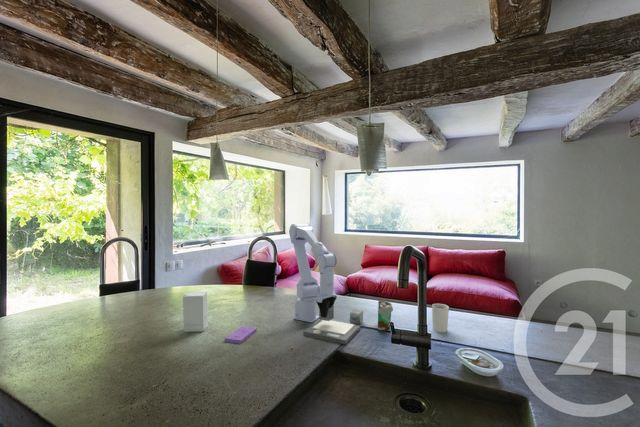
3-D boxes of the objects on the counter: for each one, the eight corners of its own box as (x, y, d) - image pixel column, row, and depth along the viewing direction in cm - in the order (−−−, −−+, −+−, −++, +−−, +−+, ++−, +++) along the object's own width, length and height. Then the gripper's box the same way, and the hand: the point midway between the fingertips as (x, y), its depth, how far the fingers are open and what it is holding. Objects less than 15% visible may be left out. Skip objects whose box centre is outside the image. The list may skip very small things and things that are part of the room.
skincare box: (208, 326, 130) (208, 291, 130) (203, 332, 124) (203, 295, 124) (188, 326, 129) (188, 291, 129) (182, 332, 123) (182, 295, 123)
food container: (393, 334, 124) (393, 309, 124) (377, 332, 125) (378, 308, 125) (392, 323, 136) (392, 300, 136) (378, 322, 138) (378, 299, 137)
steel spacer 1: (319, 319, 127) (319, 307, 127) (324, 316, 131) (324, 304, 131) (329, 321, 125) (329, 309, 125) (333, 317, 129) (333, 305, 129)
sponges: (224, 342, 116) (224, 337, 116) (241, 329, 128) (241, 325, 128) (240, 345, 114) (241, 340, 114) (256, 332, 126) (257, 327, 126)
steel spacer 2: (349, 323, 136) (350, 312, 136) (353, 320, 140) (353, 309, 140) (359, 325, 134) (359, 313, 134) (362, 321, 138) (363, 310, 138)
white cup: (450, 333, 126) (450, 309, 125) (432, 332, 127) (433, 307, 127) (446, 327, 132) (447, 304, 132) (430, 326, 133) (430, 303, 133)
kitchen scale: (303, 335, 122) (303, 330, 122) (321, 321, 137) (321, 317, 137) (345, 344, 114) (345, 339, 114) (359, 329, 129) (359, 324, 129)
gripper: (328, 287, 120) (327, 322, 120) (342, 280, 133) (341, 311, 133) (312, 285, 123) (311, 319, 123) (327, 278, 136) (327, 309, 136)
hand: (326, 315), depth 128 cm, fingers closed on steel spacer 1, 4 cm apart
